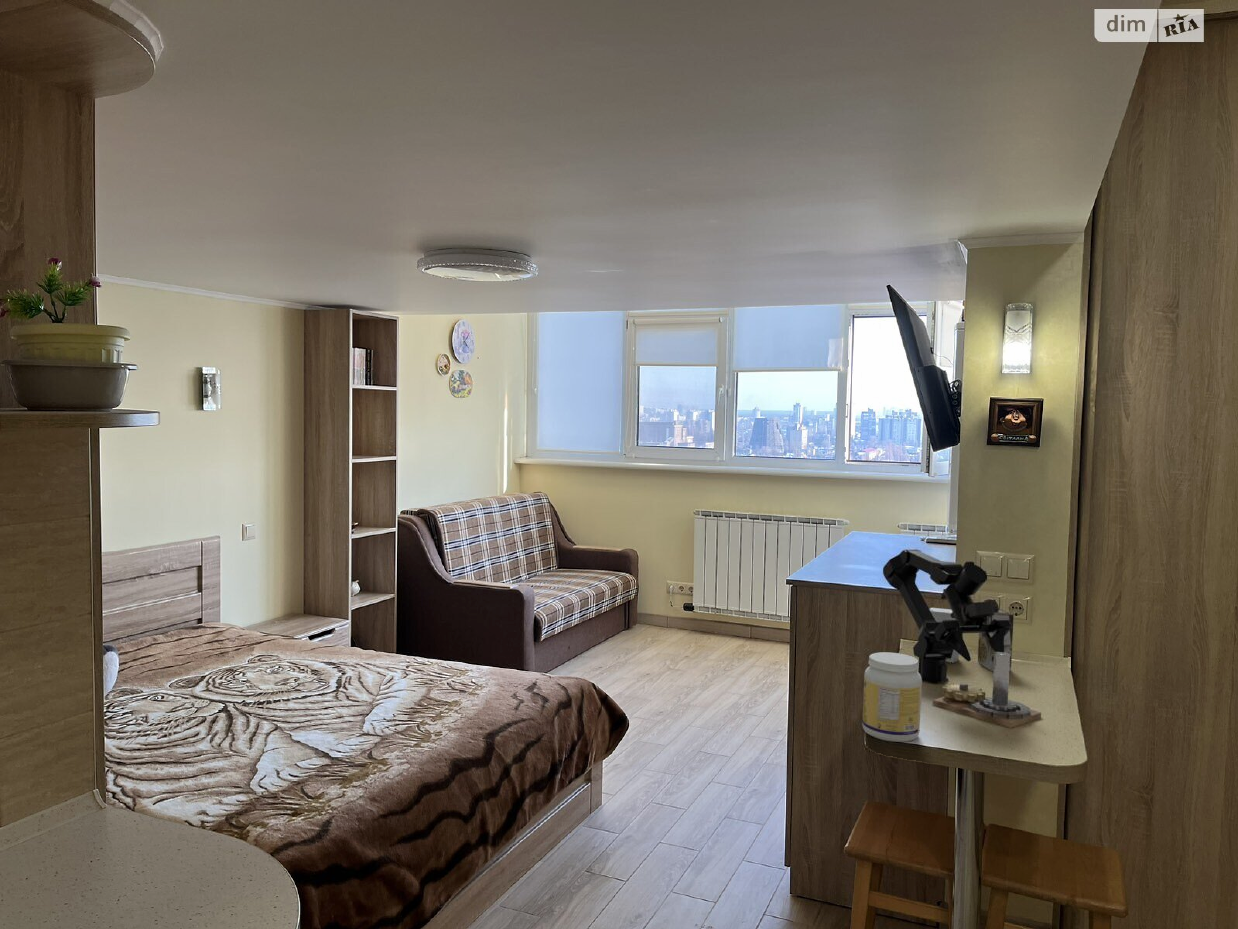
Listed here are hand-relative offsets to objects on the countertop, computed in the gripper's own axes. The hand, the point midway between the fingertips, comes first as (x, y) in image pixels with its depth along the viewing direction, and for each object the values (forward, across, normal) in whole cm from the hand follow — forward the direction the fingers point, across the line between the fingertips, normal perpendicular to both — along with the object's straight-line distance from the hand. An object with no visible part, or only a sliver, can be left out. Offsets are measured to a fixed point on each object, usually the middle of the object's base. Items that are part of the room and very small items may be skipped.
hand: (986, 660), depth 214 cm
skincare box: (-21, +15, +39) cm, 47 cm away
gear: (+12, 0, +3) cm, 12 cm away
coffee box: (-14, +26, +32) cm, 44 cm away
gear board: (+10, -2, +6) cm, 12 cm away
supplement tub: (+18, -33, -2) cm, 38 cm away
